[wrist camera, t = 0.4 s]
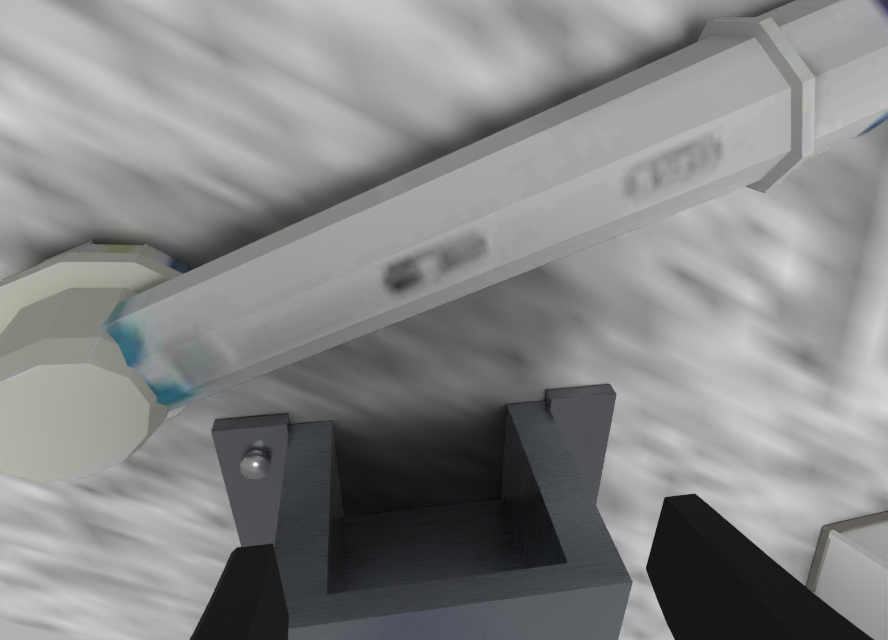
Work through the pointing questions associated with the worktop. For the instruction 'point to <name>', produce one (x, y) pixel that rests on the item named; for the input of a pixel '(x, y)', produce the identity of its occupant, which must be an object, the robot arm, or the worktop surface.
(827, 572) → the skyscraper
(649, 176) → the light grey piece
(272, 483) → the bracket sleeve
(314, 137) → the worktop surface
